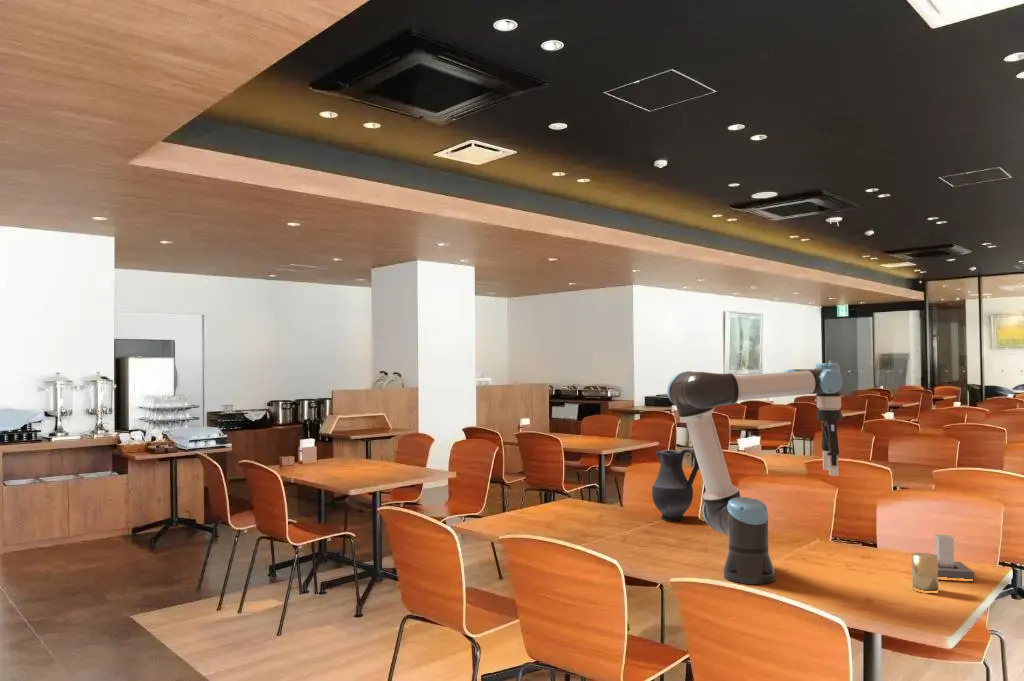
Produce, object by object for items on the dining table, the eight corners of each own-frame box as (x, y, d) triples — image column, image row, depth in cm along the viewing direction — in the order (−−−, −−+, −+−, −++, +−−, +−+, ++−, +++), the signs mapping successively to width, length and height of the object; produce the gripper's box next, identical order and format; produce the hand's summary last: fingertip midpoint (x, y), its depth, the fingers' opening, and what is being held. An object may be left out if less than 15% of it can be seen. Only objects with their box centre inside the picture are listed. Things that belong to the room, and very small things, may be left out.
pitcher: (664, 513, 331) (663, 445, 332) (708, 519, 318) (707, 447, 319) (645, 519, 318) (643, 448, 319) (690, 525, 305) (688, 451, 306)
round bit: (941, 594, 210) (940, 558, 211) (916, 593, 212) (914, 557, 213) (934, 588, 217) (933, 553, 217) (910, 586, 218) (909, 552, 219)
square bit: (954, 577, 227) (953, 537, 227) (940, 577, 228) (938, 537, 228) (950, 574, 231) (949, 534, 231) (936, 573, 232) (934, 534, 232)
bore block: (974, 582, 222) (973, 572, 222) (929, 579, 225) (928, 569, 225) (960, 571, 234) (960, 561, 234) (918, 569, 237) (918, 559, 237)
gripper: (812, 407, 264) (813, 467, 264) (822, 411, 240) (824, 477, 239) (834, 407, 262) (836, 468, 262) (847, 411, 238) (849, 478, 238)
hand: (830, 472), depth 251 cm, fingers open, 13 cm apart
